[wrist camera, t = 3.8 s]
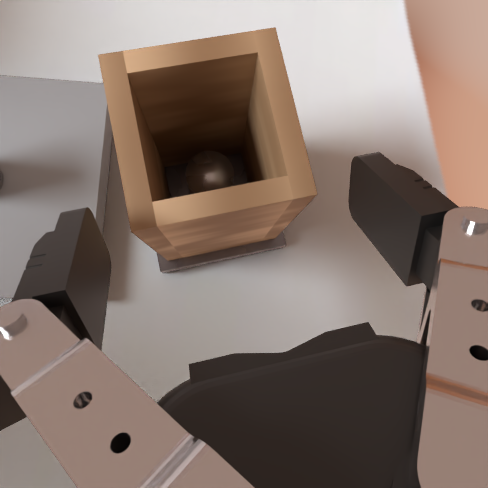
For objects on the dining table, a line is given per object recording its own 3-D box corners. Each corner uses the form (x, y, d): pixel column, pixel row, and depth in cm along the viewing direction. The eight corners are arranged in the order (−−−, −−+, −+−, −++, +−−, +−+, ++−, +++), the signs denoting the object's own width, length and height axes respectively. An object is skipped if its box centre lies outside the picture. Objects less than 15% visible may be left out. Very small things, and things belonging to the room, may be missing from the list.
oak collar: (168, 260, 21) (131, 231, 12) (147, 156, 21) (98, 54, 13) (275, 238, 21) (317, 194, 12) (251, 137, 22) (275, 27, 13)
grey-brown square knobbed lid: (163, 272, 22) (147, 265, 17) (140, 156, 22) (118, 115, 17) (283, 247, 22) (301, 232, 17) (256, 135, 23) (267, 90, 18)
